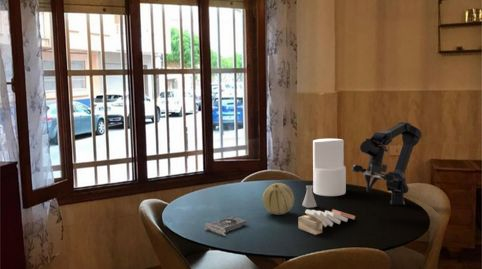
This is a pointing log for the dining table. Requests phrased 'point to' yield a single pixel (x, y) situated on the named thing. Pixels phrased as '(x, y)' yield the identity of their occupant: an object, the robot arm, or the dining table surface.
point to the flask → (309, 198)
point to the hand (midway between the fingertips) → (367, 191)
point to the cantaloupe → (278, 198)
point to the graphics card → (225, 225)
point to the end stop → (310, 224)
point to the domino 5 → (343, 214)
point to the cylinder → (329, 167)
